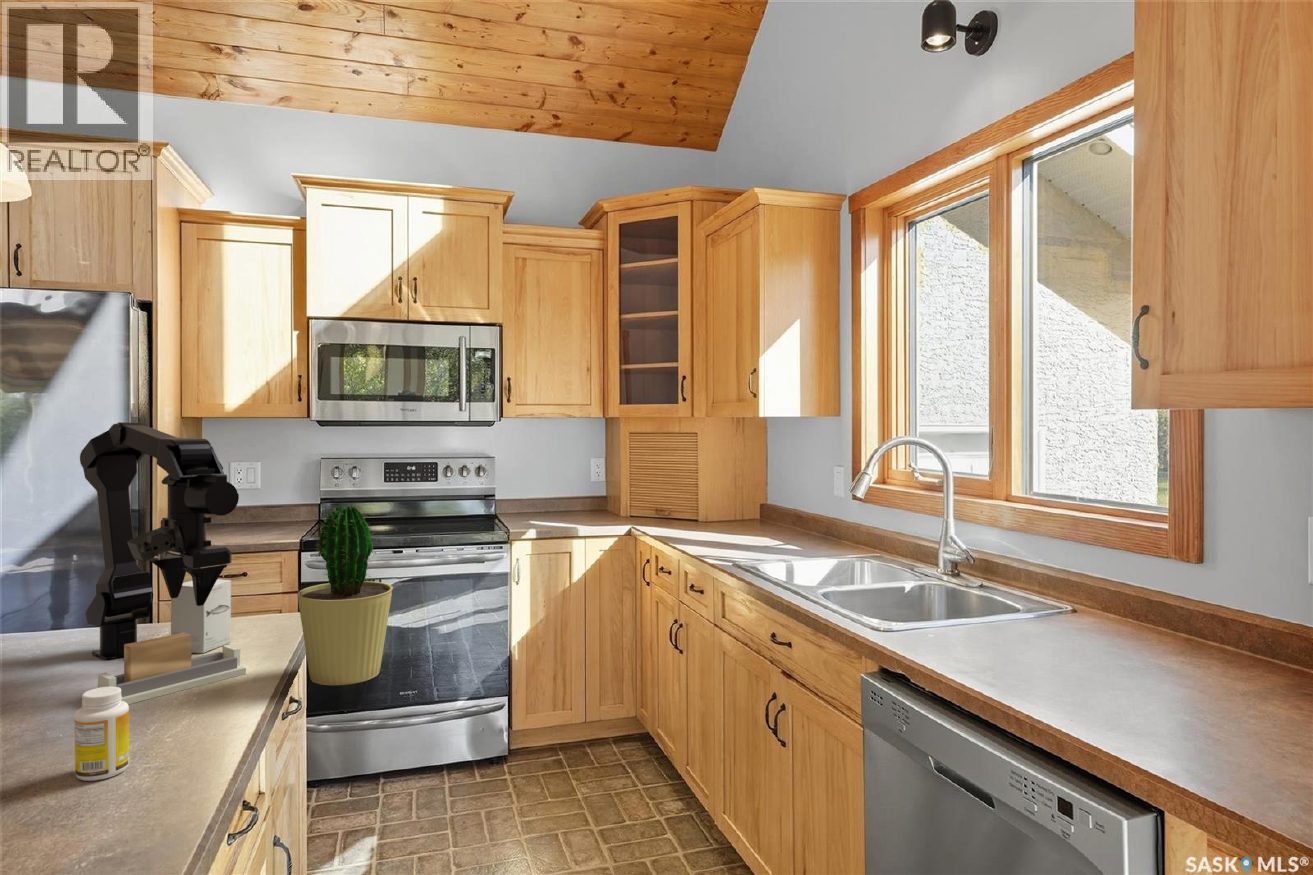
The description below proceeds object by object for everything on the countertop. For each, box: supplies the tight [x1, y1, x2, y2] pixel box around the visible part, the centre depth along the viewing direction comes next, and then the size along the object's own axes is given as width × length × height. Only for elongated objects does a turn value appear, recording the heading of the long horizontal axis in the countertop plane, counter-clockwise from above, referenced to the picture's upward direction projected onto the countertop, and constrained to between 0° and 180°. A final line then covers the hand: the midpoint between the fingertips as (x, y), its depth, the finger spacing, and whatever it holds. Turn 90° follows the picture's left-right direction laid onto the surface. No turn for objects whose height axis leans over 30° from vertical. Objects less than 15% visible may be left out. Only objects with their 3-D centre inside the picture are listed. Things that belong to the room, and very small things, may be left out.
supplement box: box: [170, 578, 232, 654], centre depth 150 cm, size 7×7×13 cm
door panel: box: [123, 632, 192, 683], centre depth 127 cm, size 2×9×7 cm, turn 146°
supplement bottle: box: [74, 686, 131, 782], centre depth 97 cm, size 6×6×10 cm
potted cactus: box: [297, 504, 394, 686], centre depth 135 cm, size 15×15×30 cm
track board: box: [97, 644, 247, 705], centre depth 129 cm, size 8×20×4 cm, turn 146°
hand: (187, 601), depth 134 cm, fingers open, 9 cm apart
